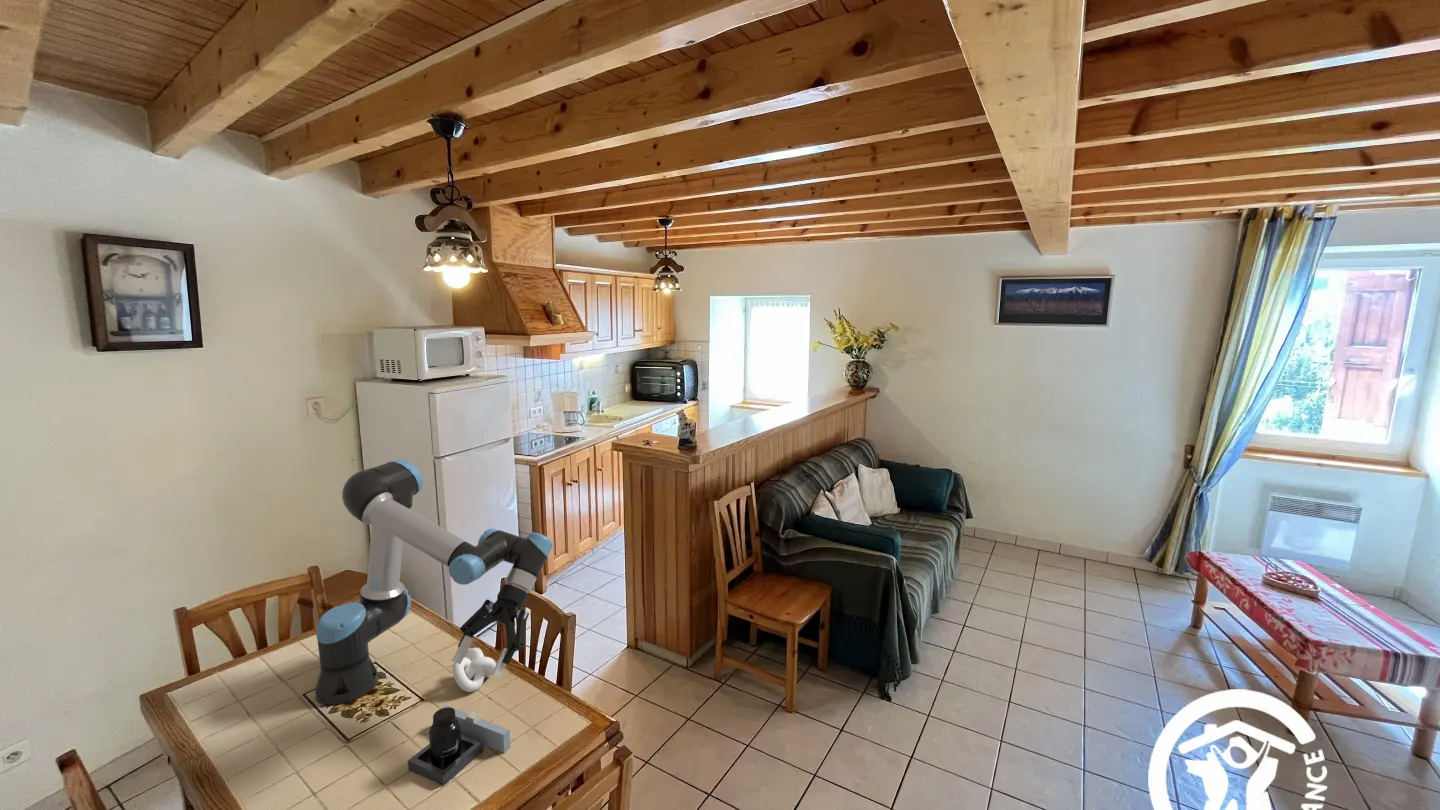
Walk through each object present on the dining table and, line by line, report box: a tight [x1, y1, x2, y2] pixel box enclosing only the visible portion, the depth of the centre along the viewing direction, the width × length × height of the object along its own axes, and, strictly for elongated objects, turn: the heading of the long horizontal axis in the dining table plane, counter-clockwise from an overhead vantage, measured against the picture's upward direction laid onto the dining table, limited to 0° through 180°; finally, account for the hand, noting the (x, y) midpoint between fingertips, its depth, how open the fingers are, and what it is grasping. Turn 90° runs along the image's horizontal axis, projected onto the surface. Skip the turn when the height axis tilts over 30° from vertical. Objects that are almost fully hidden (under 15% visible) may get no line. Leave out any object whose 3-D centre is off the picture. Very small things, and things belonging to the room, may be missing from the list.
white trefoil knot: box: [452, 647, 497, 693], centre depth 165 cm, size 11×12×9 cm
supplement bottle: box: [428, 706, 461, 768], centre depth 135 cm, size 7×7×12 cm
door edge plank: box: [440, 704, 511, 754], centre depth 143 cm, size 22×2×6 cm, turn 66°
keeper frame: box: [407, 734, 484, 787], centre depth 136 cm, size 12×12×2 cm
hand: (475, 669), depth 143 cm, fingers open, 13 cm apart
